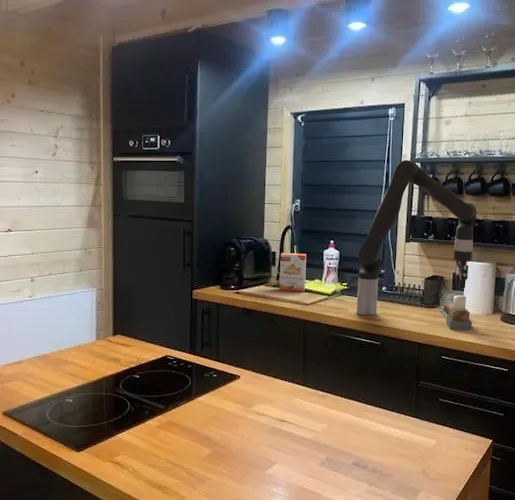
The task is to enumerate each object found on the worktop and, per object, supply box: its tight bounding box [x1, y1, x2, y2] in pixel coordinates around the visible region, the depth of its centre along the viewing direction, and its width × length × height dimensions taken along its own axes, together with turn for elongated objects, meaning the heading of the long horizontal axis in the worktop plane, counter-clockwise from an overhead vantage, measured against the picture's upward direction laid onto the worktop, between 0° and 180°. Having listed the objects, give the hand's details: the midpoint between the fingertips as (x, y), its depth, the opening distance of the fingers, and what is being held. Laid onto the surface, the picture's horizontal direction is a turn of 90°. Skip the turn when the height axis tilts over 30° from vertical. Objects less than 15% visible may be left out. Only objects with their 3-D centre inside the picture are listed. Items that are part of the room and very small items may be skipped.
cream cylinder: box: [452, 295, 467, 311], centre depth 244 cm, size 5×5×6 cm
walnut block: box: [449, 307, 471, 321], centre depth 244 cm, size 7×7×4 cm
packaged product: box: [439, 303, 453, 320], centre depth 263 cm, size 18×5×10 cm
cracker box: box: [279, 252, 307, 293], centre depth 311 cm, size 14×6×21 cm, turn 81°
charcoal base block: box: [445, 316, 473, 331], centre depth 245 cm, size 9×9×4 cm
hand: (460, 286), depth 242 cm, fingers open, 8 cm apart
